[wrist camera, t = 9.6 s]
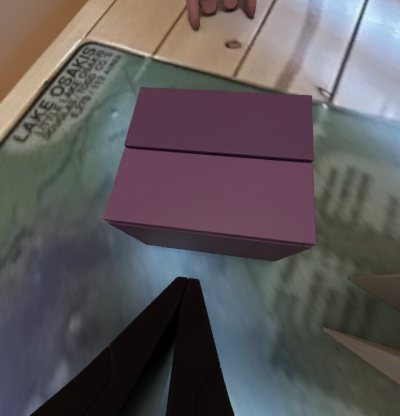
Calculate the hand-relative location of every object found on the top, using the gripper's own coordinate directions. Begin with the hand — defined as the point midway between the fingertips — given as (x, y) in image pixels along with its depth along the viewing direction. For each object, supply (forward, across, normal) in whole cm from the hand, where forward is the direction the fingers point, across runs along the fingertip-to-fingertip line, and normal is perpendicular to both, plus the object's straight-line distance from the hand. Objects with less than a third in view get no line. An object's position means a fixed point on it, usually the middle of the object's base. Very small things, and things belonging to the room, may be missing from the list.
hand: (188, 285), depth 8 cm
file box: (+16, 0, +3) cm, 16 cm away
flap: (+7, 0, -1) cm, 7 cm away
